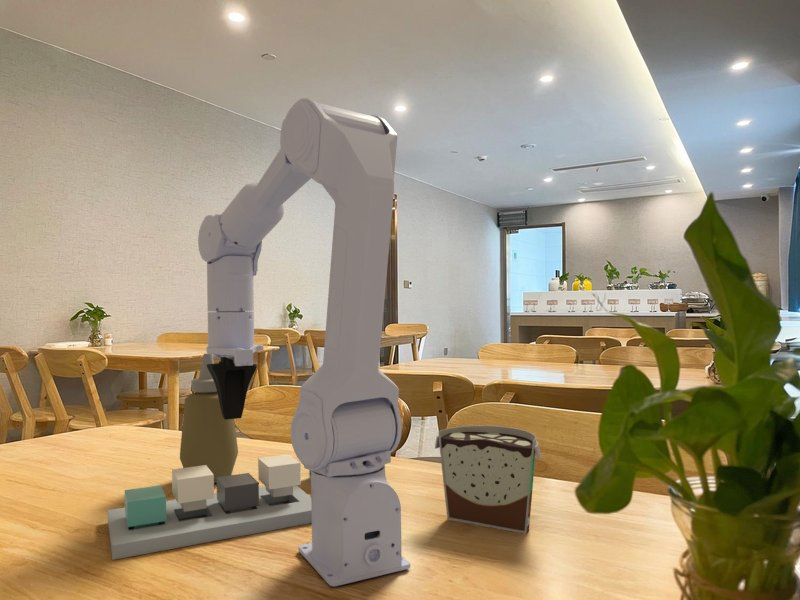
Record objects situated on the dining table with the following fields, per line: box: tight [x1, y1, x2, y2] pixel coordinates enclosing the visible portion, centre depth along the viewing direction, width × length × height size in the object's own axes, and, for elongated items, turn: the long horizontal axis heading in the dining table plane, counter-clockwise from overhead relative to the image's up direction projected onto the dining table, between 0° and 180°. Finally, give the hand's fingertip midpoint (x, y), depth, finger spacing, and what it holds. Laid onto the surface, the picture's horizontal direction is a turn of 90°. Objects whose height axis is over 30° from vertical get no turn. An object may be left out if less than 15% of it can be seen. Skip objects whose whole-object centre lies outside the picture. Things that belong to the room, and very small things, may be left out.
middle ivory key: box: [171, 465, 215, 512], centre depth 69 cm, size 5×4×4 cm
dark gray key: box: [216, 472, 260, 514], centre depth 71 cm, size 5×4×4 cm
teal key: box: [124, 484, 167, 530], centre depth 67 cm, size 5×4×4 cm
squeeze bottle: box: [179, 353, 239, 484], centre depth 87 cm, size 8×8×18 cm
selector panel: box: [107, 485, 312, 561], centre depth 70 cm, size 12×22×1 cm, turn 117°
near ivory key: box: [257, 453, 302, 497], centre depth 74 cm, size 5×4×4 cm
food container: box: [434, 425, 542, 535], centre depth 70 cm, size 12×6×10 cm, turn 59°
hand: (232, 418), depth 78 cm, fingers closed
